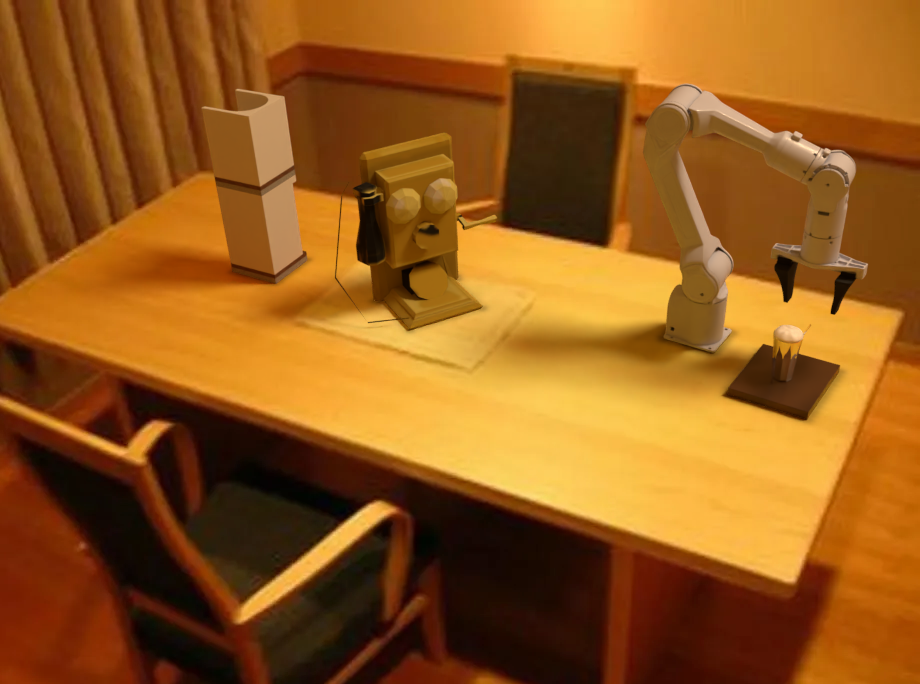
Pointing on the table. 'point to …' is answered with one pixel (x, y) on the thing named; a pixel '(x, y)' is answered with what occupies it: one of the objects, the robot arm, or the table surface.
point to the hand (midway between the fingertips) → (810, 305)
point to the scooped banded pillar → (256, 185)
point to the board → (784, 383)
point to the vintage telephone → (412, 230)
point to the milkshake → (786, 351)
